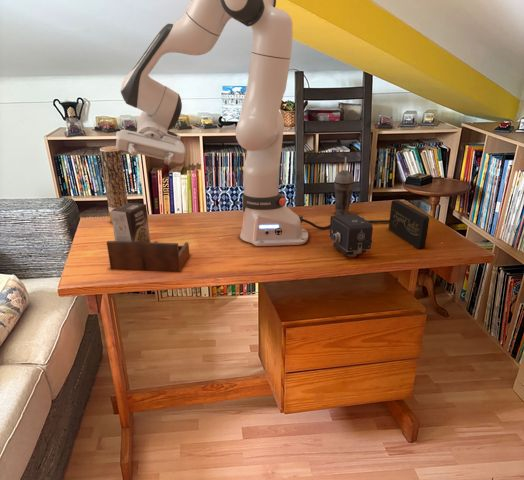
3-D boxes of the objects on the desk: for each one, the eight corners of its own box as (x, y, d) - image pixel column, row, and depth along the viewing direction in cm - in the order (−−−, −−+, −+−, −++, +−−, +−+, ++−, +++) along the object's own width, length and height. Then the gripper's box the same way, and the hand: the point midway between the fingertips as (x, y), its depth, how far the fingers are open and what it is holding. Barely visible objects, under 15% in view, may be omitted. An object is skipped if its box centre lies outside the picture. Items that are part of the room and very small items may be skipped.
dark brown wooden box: (189, 255, 163) (187, 229, 159) (179, 271, 152) (177, 244, 148) (125, 252, 165) (121, 227, 161) (110, 269, 153) (106, 242, 149)
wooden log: (132, 218, 195) (123, 146, 182) (126, 224, 189) (116, 150, 176) (114, 218, 195) (103, 146, 183) (107, 224, 190) (96, 149, 177)
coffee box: (136, 268, 154) (129, 212, 146) (117, 265, 156) (109, 210, 148) (153, 257, 161) (147, 203, 153) (134, 254, 163) (127, 201, 155)
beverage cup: (331, 216, 197) (335, 159, 187) (332, 210, 203) (336, 155, 193) (351, 216, 196) (356, 159, 186) (351, 211, 202) (356, 155, 192)
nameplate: (388, 228, 184) (391, 199, 179) (393, 228, 185) (397, 199, 179) (419, 249, 167) (424, 217, 162) (424, 248, 167) (429, 217, 162)
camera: (374, 261, 161) (351, 240, 172) (380, 225, 154) (356, 206, 166) (342, 265, 158) (321, 244, 169) (347, 229, 151) (325, 209, 163)
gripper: (117, 120, 160) (115, 139, 150) (185, 136, 166) (187, 155, 157) (115, 140, 164) (112, 160, 154) (181, 156, 170) (183, 175, 161)
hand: (150, 158), depth 156 cm, fingers open, 8 cm apart
